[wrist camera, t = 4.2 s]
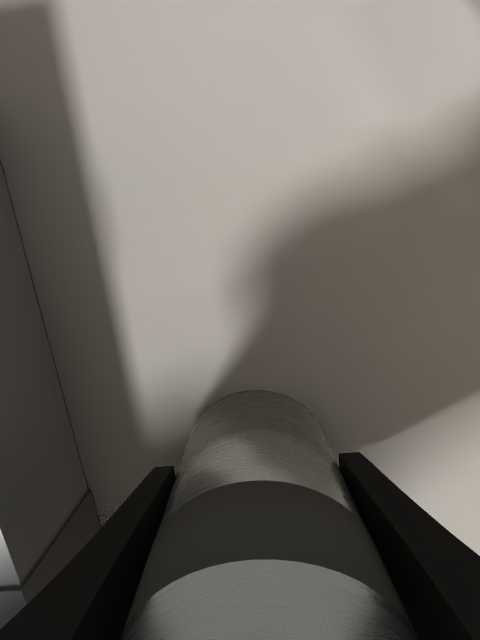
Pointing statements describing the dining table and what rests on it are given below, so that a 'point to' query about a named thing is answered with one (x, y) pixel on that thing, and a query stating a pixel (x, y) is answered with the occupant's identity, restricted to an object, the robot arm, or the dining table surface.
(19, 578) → the camera body
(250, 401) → the lens
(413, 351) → the dining table surface
